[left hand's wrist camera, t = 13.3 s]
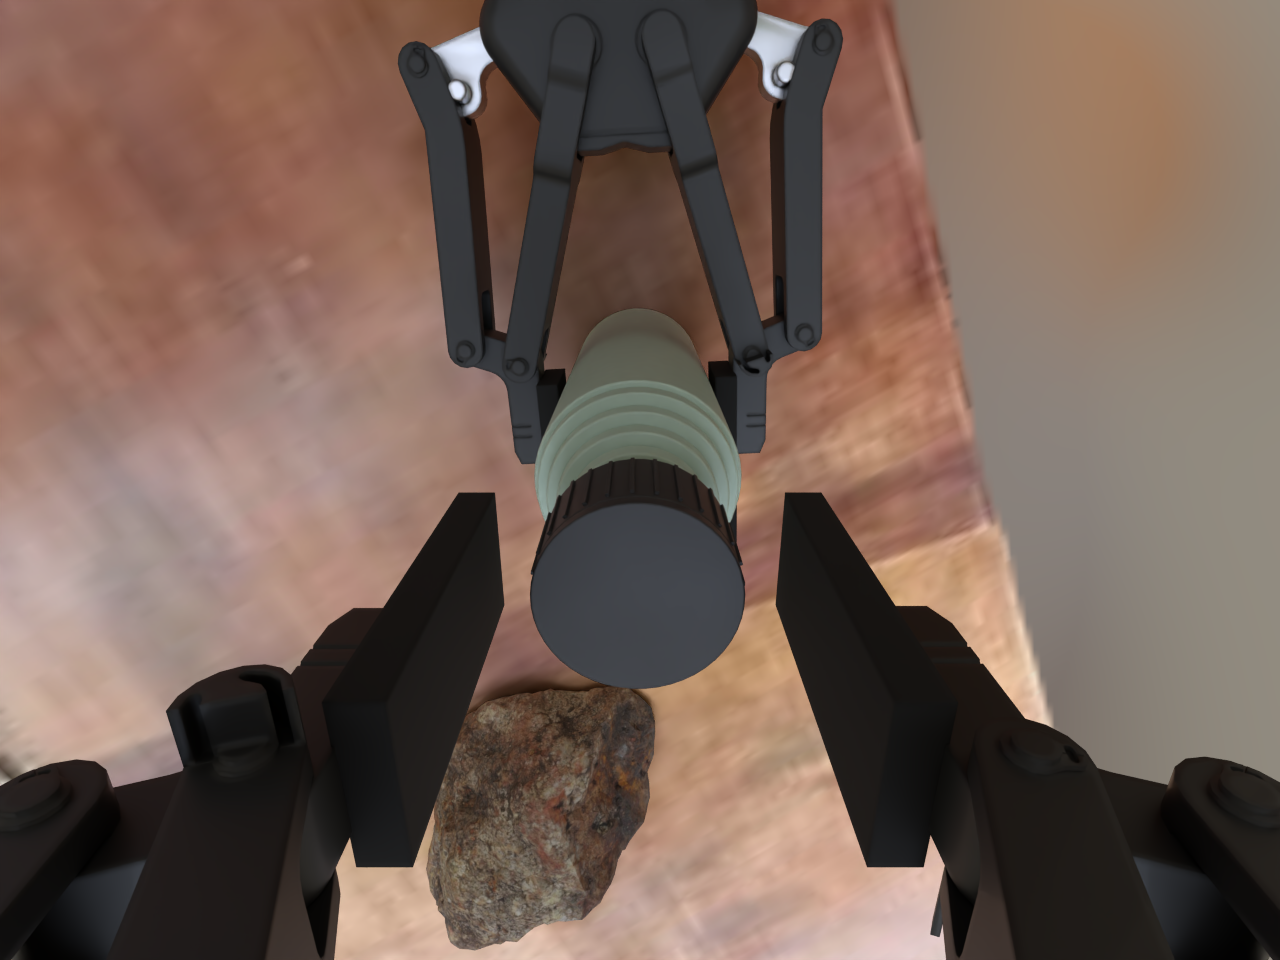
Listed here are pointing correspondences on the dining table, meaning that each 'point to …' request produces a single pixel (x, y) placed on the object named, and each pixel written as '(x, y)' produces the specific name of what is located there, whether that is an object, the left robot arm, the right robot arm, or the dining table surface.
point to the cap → (637, 575)
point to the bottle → (638, 410)
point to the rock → (538, 810)
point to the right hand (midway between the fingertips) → (644, 530)
